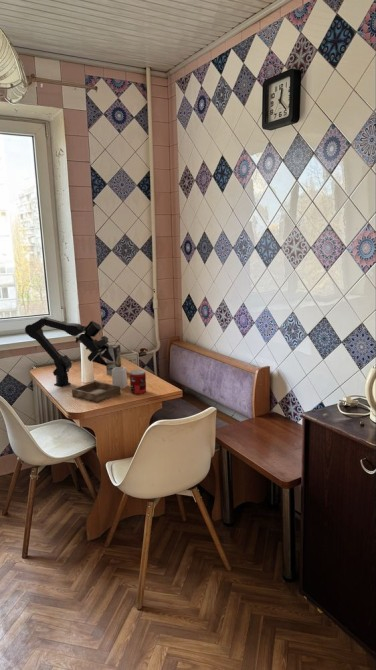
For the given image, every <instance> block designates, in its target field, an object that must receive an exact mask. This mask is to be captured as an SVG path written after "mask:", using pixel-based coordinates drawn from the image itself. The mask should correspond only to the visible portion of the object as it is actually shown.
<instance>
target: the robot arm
mask: <svg viewBox="0 0 376 670" xmlns="http://www.w3.org/2000/svg"><path fill="white" fill-rule="evenodd" d="M45 326H46V327H49V328H53V329H56V330H60V331H63V332H65V333H67V334H68V335H69V336H73V337H75V343H79V342H80V343H81V344H82V345H83V346H84V347H85V350H87V351H89V352H90V353H89V354H88V356H87V360H88V361H89V362H92V363H97V364H99V365H101V366H105V367H106V366H107V365H108V364H107V363H106V359H108V360H110V361H112V362H113V361H114V360H113V358H112V356H111V354H110V352H109V348H110V347H109V346H110V345H109V343H110V341H109V337H107V336H106V335H103V336H101V337H100V339H99V340H98V339H94V337H96V336H97V334H99V333H100V331H101V330H102V327H101V325H100V324H99V323H97V322H96V321H93V320H91V321H89V323H88V325H86V326H85V325H82V324H81V323H74V322H73V323H69V322H64V321H61V320H57V319H53V318H50V317H46V316H43V317H41V318H40V319H38V320H36V321H35V322H32V323H29V324H27V325H25V327H24V332H25V334H26V335H27V336H29V337H30V338H31V339H33V340H36V341H37V343H38V344H39V345H40V347H41V348H42V349H43V350H44V351H45V352H46V353H47V354H48V356H49V357H50V358H51V359H52V361H53V364H54V366H55V369H54V370H53V371H52V373H53V376H55V382H56V383H54V386H57V387H65V386H67V385H70V384H71V382H69V374H68V373H69V372H70V369H71V368H72V364H73V363H72V361H71V359H70V358H69V357H68V355H66V354H64V355H62V354H60V352H59V351H58V350H57V348H56V347H55V346H54V345H53V343H52V342H50V340H49V339H48V338H47V337H46V336H45V334H44V332H43V331H44V330H43V328H44V327H45ZM108 347H109V348H108ZM104 358H105V359H104Z"/></svg>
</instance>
